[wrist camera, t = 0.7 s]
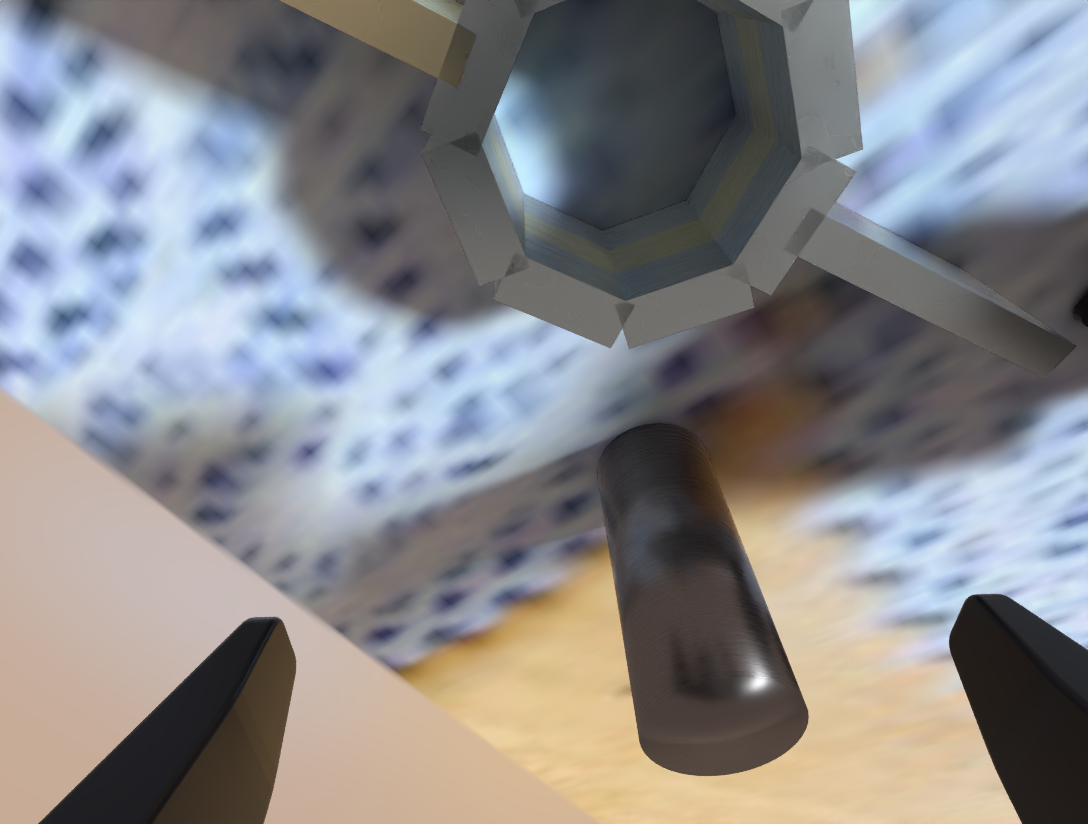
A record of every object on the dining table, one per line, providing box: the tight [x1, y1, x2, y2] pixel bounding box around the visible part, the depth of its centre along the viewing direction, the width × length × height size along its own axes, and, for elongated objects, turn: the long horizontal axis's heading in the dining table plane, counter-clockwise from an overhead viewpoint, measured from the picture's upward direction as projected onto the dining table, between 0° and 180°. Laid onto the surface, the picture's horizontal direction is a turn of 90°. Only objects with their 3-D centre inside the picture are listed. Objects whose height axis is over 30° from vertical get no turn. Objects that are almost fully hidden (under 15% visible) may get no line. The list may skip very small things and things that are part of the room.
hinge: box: [279, 0, 1076, 378], centre depth 16 cm, size 24×8×5 cm, turn 65°
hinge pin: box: [597, 424, 809, 776], centre depth 20 cm, size 4×4×10 cm
